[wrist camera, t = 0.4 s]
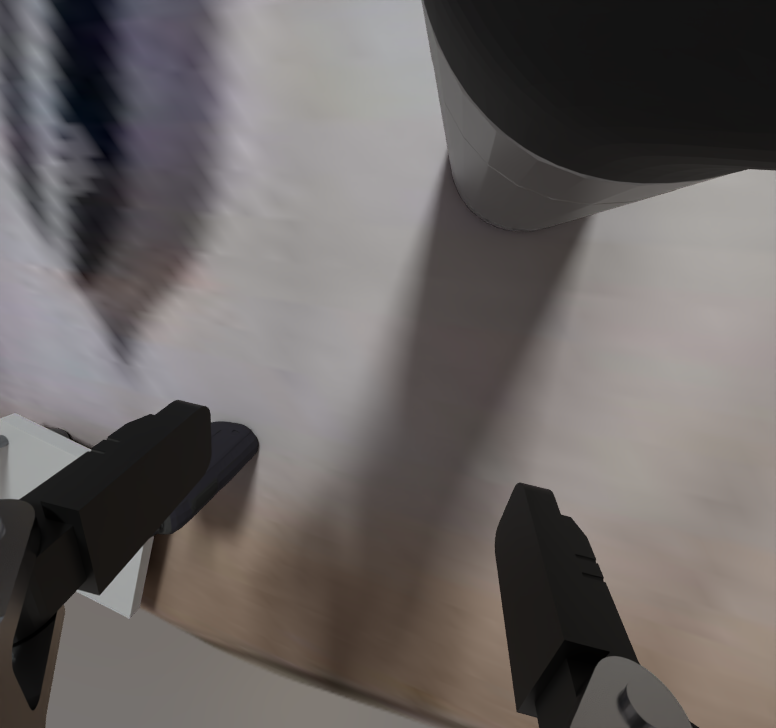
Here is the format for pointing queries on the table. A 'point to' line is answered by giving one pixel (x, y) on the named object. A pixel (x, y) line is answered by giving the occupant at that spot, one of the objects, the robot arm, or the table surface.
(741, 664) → the table surface
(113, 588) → the dolly
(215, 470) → the two-way radio
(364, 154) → the table surface
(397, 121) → the table surface
